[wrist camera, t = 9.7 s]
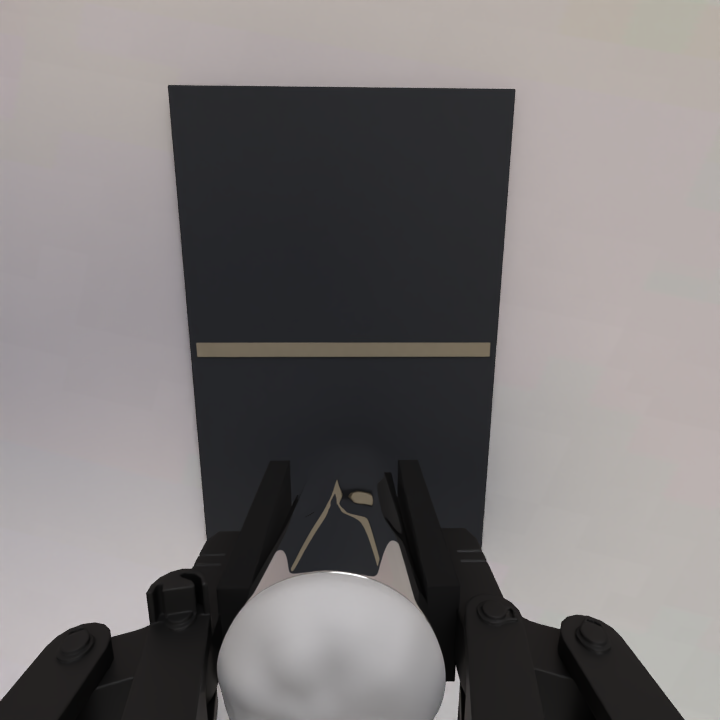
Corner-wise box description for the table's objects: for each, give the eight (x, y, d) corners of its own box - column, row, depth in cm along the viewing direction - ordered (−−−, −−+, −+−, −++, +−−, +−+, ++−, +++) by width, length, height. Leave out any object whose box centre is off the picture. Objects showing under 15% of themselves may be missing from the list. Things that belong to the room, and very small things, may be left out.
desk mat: (171, 88, 16) (166, 83, 16) (512, 92, 16) (516, 87, 16) (210, 551, 20) (207, 558, 20) (478, 548, 21) (481, 555, 20)
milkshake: (262, 514, 17) (114, 857, 7) (325, 402, 16) (252, 628, 6) (362, 564, 17) (352, 954, 8) (430, 458, 16) (522, 755, 6)
